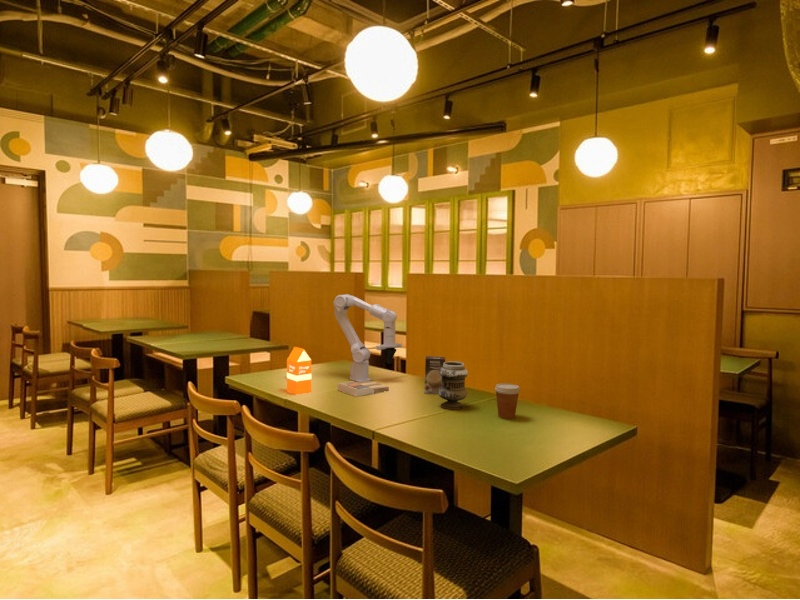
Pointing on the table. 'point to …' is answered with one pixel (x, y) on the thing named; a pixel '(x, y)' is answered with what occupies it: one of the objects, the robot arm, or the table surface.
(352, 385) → the tile terracotta
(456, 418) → the table surface
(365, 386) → the tile slate
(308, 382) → the orange juice
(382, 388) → the board
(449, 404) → the apothecary jar
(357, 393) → the tray
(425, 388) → the coffee box
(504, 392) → the disposable coffee cup
